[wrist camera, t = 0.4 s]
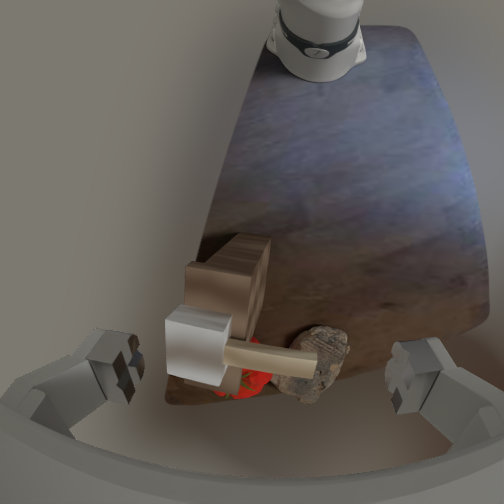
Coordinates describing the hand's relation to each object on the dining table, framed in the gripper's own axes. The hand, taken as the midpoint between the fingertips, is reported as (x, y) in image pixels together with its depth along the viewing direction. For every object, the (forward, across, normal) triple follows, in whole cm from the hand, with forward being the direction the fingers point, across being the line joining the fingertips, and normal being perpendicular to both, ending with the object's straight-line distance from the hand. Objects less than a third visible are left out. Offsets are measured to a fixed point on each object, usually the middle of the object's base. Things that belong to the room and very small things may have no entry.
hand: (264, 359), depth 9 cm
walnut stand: (+45, +4, +18) cm, 49 cm away
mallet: (+19, +3, +15) cm, 24 cm away
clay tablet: (+42, -9, +37) cm, 57 cm away
